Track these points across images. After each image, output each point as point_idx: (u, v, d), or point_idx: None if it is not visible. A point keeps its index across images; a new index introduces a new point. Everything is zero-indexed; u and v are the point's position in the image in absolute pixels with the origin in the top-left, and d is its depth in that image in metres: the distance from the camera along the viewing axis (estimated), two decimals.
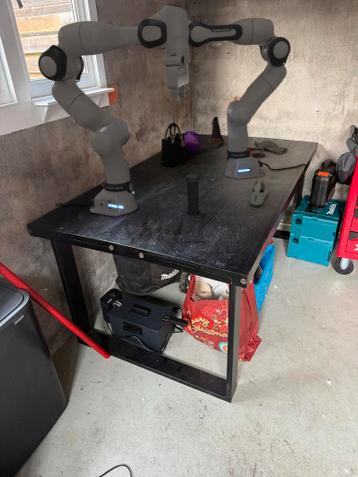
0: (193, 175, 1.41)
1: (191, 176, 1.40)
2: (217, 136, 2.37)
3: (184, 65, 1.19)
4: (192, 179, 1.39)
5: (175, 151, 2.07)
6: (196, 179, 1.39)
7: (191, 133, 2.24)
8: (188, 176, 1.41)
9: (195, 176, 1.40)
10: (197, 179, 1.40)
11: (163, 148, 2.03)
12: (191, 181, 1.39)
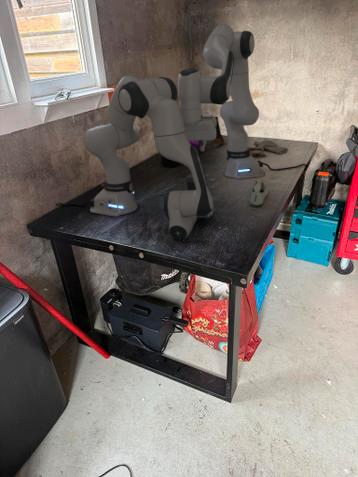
0: None
1: (191, 176, 1.40)
2: (217, 136, 2.37)
3: None
4: (192, 179, 1.39)
5: None
6: None
7: None
8: (188, 176, 1.41)
9: None
10: None
11: None
12: (191, 181, 1.39)
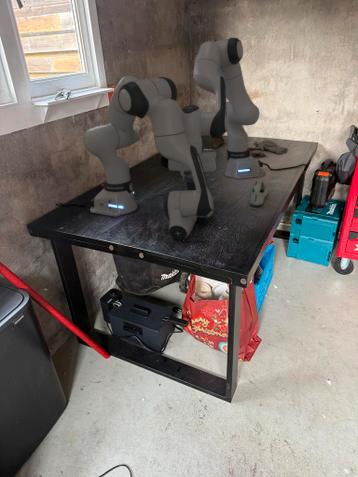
0: None
1: (191, 176, 1.40)
2: None
3: None
4: (192, 179, 1.39)
5: None
6: None
7: None
8: (188, 176, 1.41)
9: None
10: None
11: None
12: (191, 181, 1.39)
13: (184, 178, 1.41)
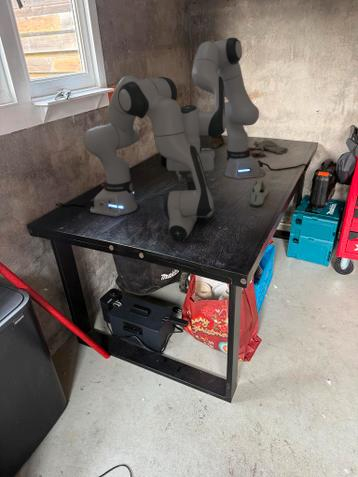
0: (191, 175, 1.41)
1: None
2: None
3: None
4: None
5: None
6: None
7: None
8: None
9: None
10: None
11: None
12: None
13: (180, 178, 1.42)
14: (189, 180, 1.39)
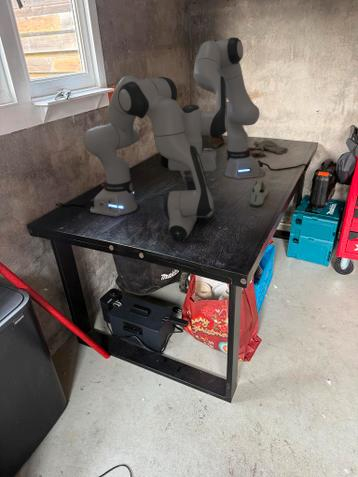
0: (191, 175, 1.41)
1: None
2: None
3: None
4: None
5: None
6: None
7: None
8: None
9: None
10: None
11: None
12: None
13: (184, 178, 1.41)
14: (189, 180, 1.39)
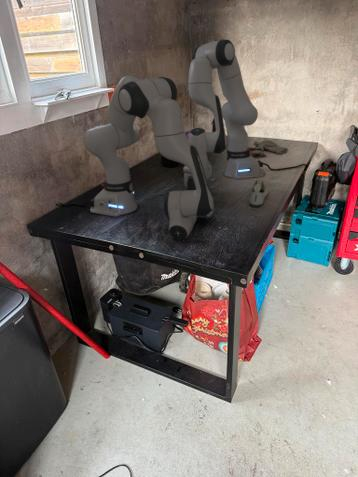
0: None
1: None
2: None
3: None
4: None
5: None
6: None
7: None
8: None
9: None
10: None
11: None
12: None
13: None
14: None
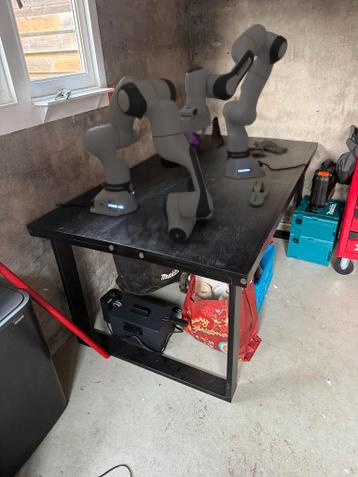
0: None
1: None
2: (217, 136, 2.37)
3: None
4: None
5: None
6: None
7: None
8: None
9: None
10: None
11: None
12: None
13: (192, 140, 1.48)
14: None
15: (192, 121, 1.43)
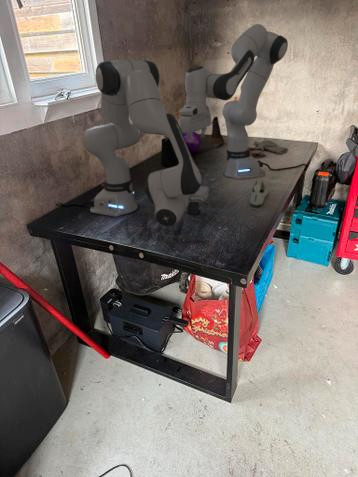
0: None
1: None
2: (217, 136, 2.37)
3: None
4: None
5: None
6: None
7: None
8: None
9: None
10: None
11: (163, 148, 2.03)
12: None
13: (192, 139, 1.48)
14: None
15: (192, 121, 1.43)
